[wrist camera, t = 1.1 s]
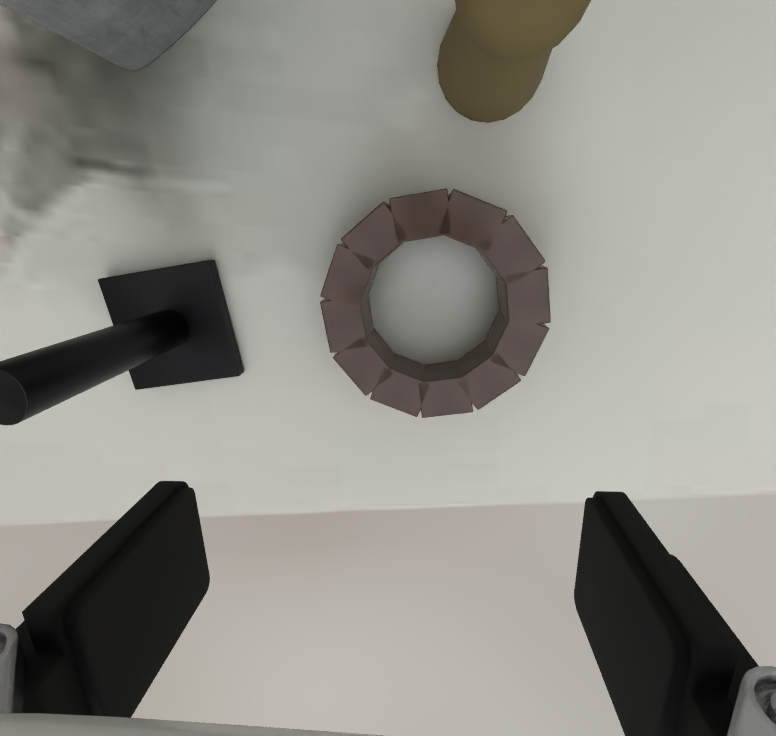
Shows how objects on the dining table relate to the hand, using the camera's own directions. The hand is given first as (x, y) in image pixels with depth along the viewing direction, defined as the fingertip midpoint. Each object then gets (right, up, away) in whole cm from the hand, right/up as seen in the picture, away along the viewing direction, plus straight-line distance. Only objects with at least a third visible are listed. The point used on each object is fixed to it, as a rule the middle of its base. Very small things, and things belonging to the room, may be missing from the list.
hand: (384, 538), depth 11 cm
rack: (-15, +7, +21) cm, 27 cm away
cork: (+6, +21, +15) cm, 27 cm away
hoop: (+3, +8, +19) cm, 21 cm away
